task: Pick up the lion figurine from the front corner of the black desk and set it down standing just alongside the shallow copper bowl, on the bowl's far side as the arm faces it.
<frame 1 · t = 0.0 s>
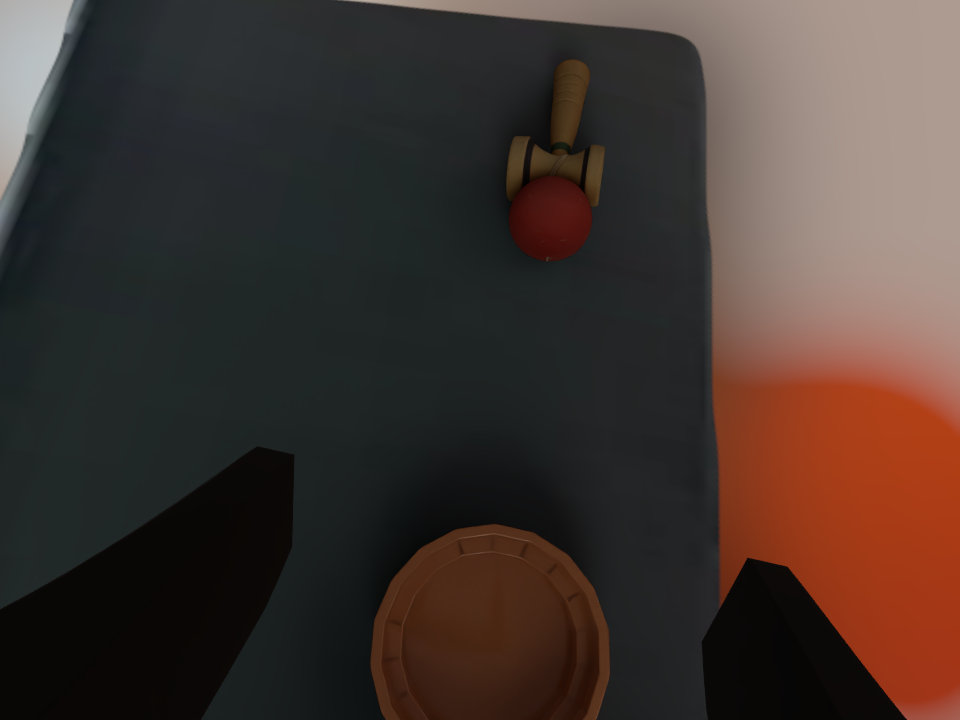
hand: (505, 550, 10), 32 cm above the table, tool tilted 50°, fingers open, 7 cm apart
bowl: (487, 640, 39), on the table
kendama: (553, 175, 51), on the table
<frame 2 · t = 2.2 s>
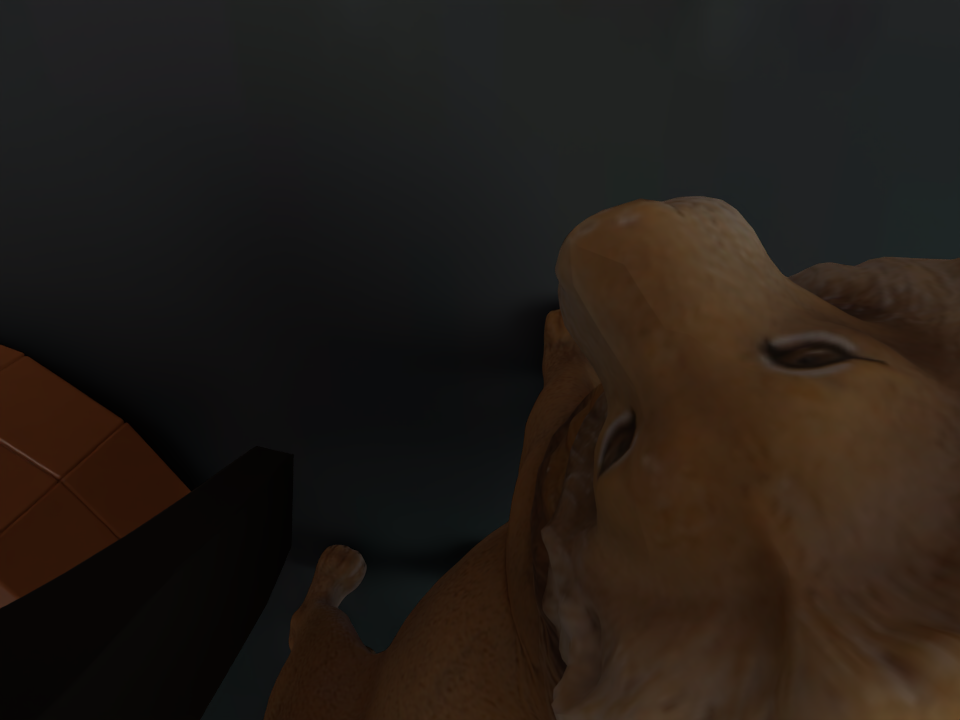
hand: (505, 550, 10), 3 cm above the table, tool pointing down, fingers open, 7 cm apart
bowl: (7, 528, 17), on the table
lion figurine: (524, 435, 13), on the table, touching gripper
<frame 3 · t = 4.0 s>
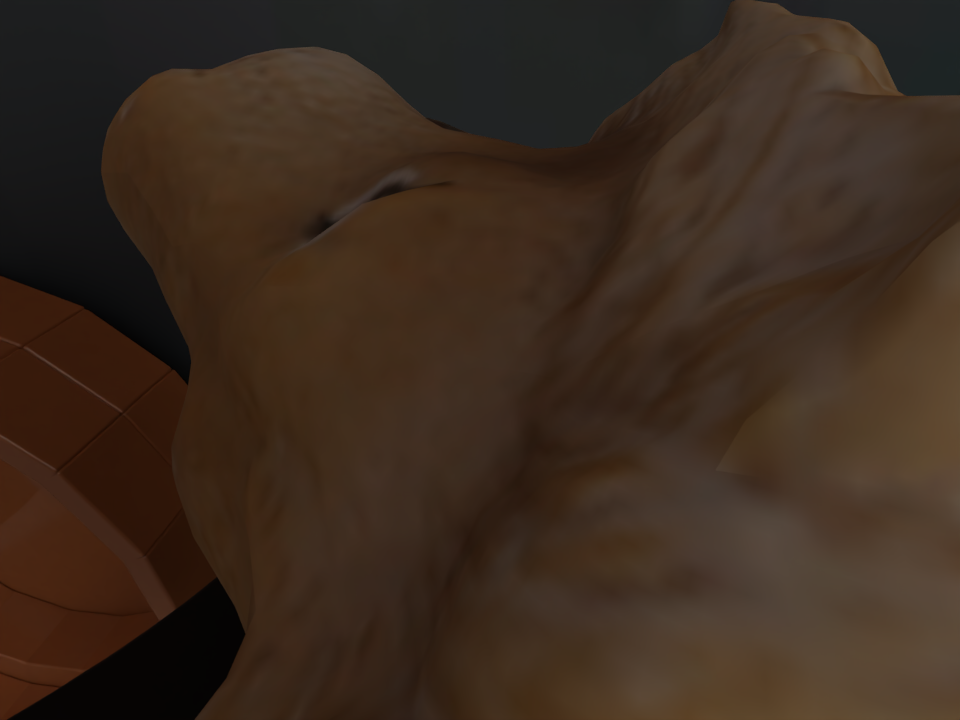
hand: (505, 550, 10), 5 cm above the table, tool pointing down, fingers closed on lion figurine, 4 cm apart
bowl: (56, 475, 18), on the table
lion figurine: (525, 446, 11), point 3 cm above the table, touching gripper
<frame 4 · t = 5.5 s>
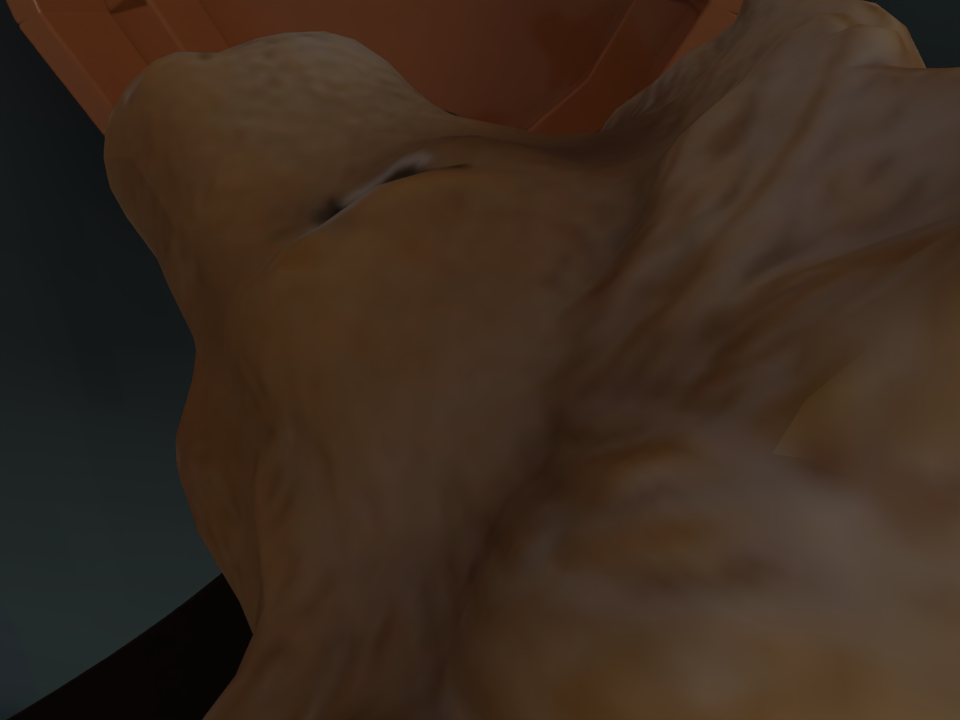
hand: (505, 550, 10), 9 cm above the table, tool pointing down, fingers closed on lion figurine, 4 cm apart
lion figurine: (526, 445, 11), point 7 cm above the table, touching gripper
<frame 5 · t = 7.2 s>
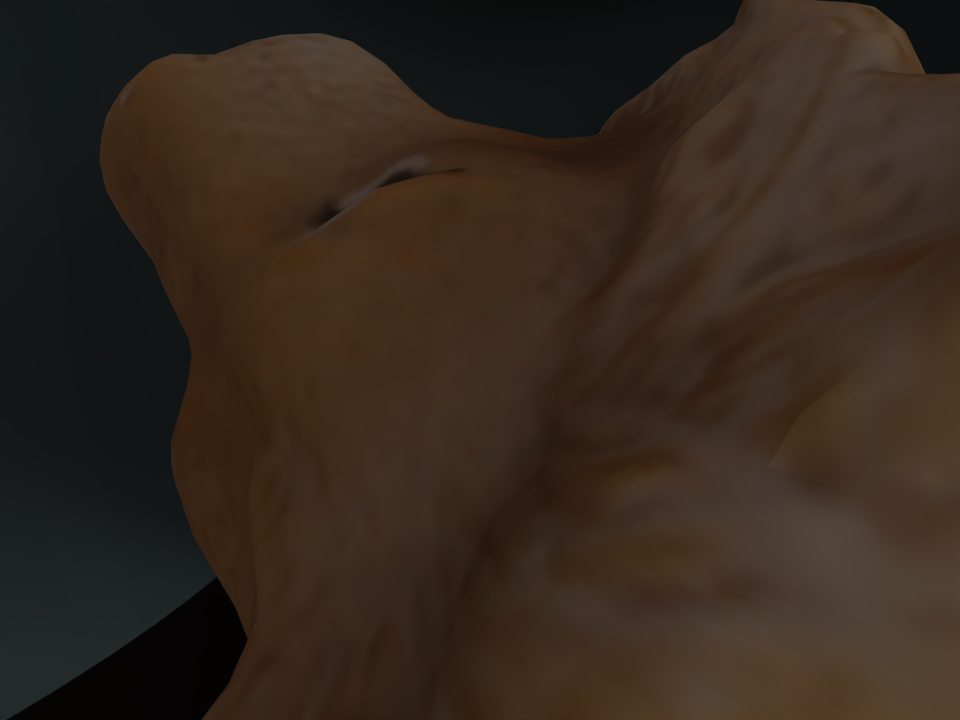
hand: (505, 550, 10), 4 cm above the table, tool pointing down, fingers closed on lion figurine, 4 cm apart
lion figurine: (525, 445, 11), point 2 cm above the table, touching gripper
when the fingers open (2 cm above the table, at t = 8.3 s): lion figurine stays where it is, on the table.
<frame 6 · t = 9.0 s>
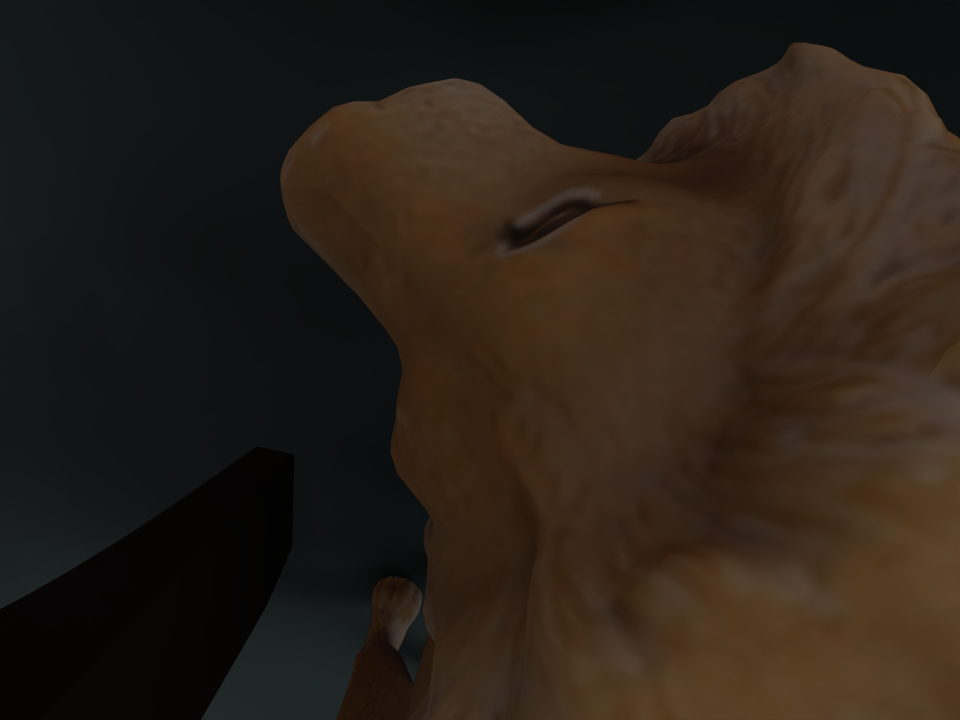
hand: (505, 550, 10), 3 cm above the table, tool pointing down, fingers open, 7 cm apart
lion figurine: (528, 416, 12), on the table
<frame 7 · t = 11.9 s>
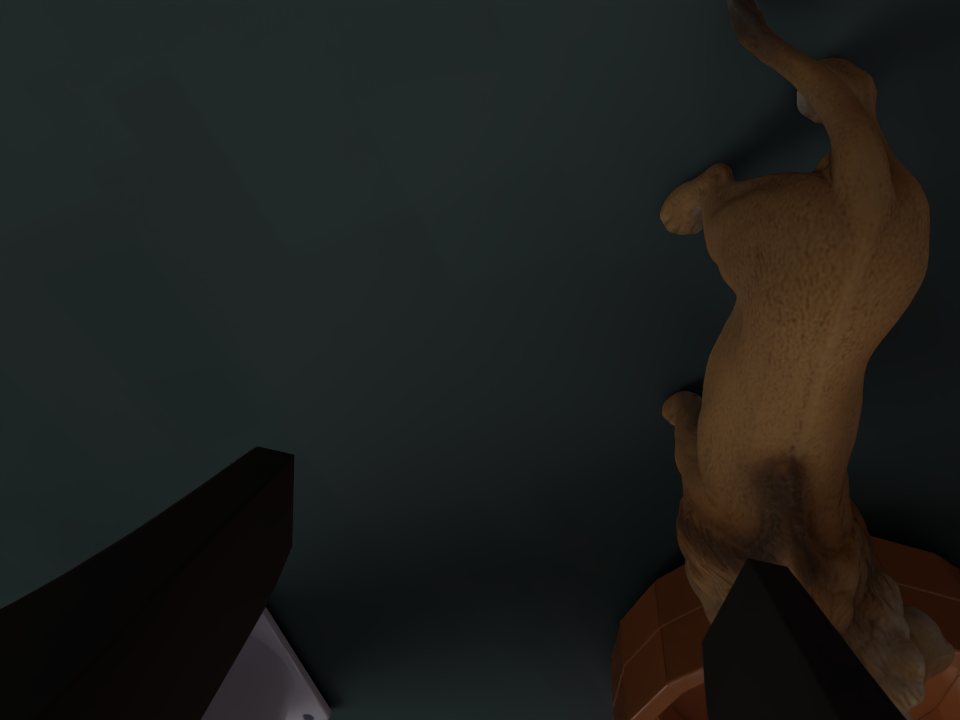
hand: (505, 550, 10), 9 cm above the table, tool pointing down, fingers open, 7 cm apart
bowl: (793, 653, 23), on the table
lion figurine: (753, 307, 17), on the table
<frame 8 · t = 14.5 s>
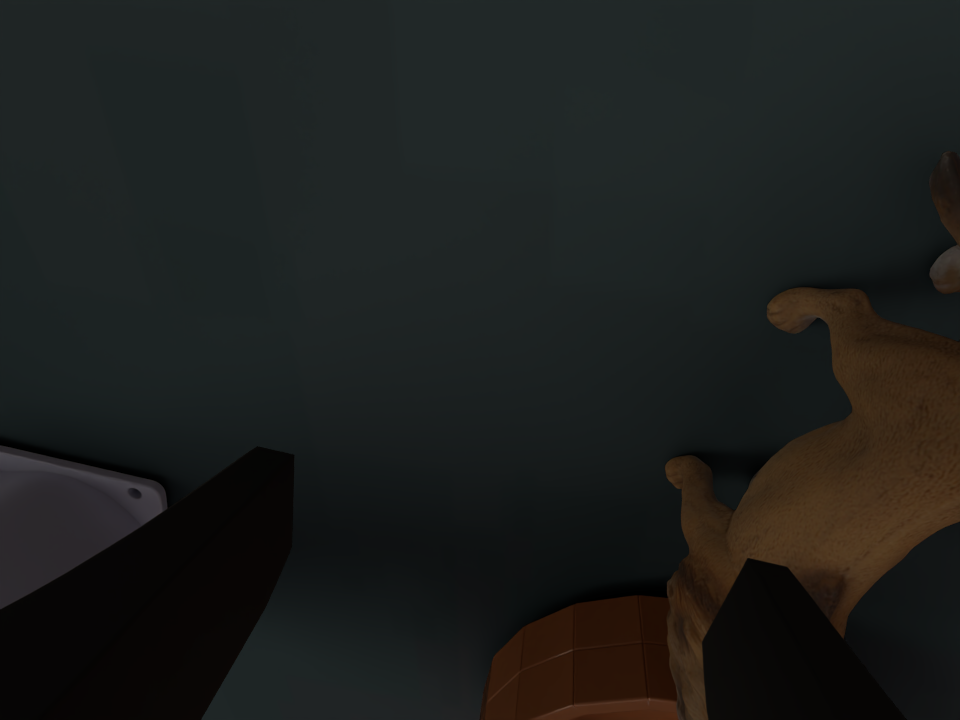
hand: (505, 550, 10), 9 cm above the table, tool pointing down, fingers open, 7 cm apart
bowl: (647, 697, 26), on the table
lion figurine: (789, 411, 19), on the table
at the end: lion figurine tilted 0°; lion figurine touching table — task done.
